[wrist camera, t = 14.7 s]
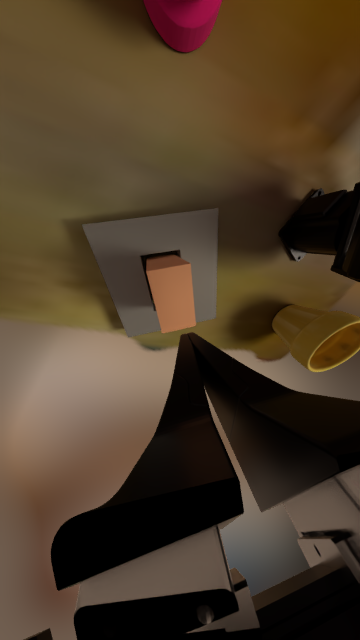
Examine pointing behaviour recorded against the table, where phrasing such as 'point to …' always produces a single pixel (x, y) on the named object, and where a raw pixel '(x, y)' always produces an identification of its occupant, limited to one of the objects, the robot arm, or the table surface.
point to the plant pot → (318, 336)
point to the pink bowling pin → (183, 21)
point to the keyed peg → (172, 291)
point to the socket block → (148, 238)
